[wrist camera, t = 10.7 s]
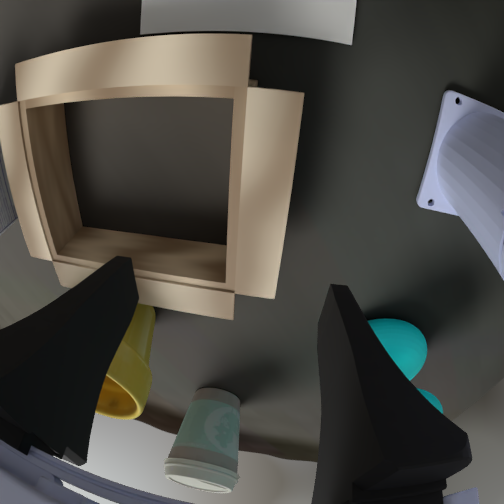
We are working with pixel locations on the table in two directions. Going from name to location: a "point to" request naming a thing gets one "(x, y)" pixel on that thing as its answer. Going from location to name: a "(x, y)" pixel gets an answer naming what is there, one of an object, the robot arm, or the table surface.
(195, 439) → the coffee cup
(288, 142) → the carton
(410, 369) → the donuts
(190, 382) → the table surface
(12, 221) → the medicine box
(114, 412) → the plant pot
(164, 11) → the felt mat
